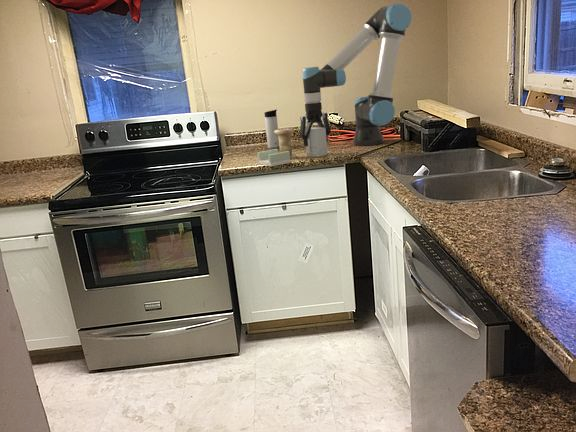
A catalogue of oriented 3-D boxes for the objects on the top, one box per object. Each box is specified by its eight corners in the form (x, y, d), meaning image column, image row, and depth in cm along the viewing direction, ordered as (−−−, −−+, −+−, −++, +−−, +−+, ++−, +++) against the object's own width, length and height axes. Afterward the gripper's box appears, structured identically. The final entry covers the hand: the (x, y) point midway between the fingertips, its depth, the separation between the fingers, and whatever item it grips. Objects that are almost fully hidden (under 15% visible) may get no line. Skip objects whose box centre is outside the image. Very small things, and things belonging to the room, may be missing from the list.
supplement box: (328, 154, 243) (326, 127, 239) (318, 157, 238) (316, 129, 234) (315, 153, 248) (313, 127, 244) (306, 156, 243) (303, 129, 239)
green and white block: (277, 159, 242) (276, 148, 240) (290, 162, 232) (289, 151, 230) (258, 163, 237) (257, 152, 235) (270, 166, 227) (269, 155, 225)
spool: (289, 155, 250) (287, 128, 246) (299, 157, 242) (297, 129, 238) (273, 158, 246) (270, 130, 242) (283, 160, 238) (280, 132, 234)
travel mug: (278, 148, 270) (275, 110, 264) (266, 149, 271) (262, 111, 266) (281, 146, 276) (277, 108, 270) (269, 147, 277) (265, 109, 272)
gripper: (327, 99, 244) (330, 146, 250) (288, 104, 234) (293, 154, 240) (336, 99, 238) (339, 148, 244) (297, 105, 228) (301, 155, 234)
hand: (316, 151), depth 242 cm, fingers closed on supplement box, 9 cm apart
